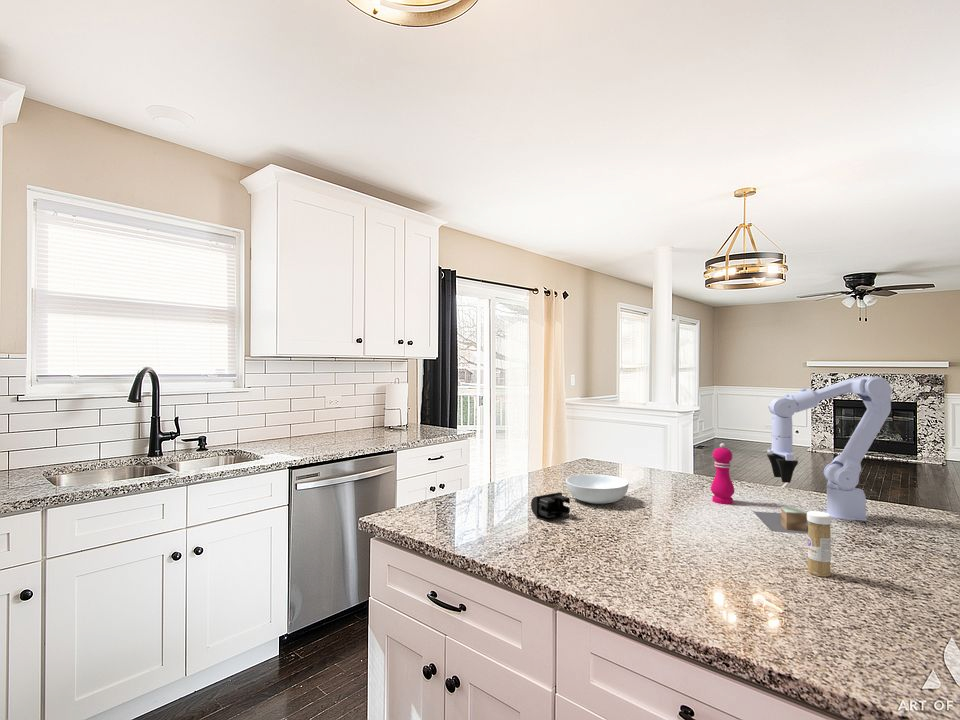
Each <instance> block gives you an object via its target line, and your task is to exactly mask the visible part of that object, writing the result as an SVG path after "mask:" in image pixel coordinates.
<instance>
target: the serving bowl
mask: <svg viewBox="0 0 960 720" xmlns="http://www.w3.org/2000/svg"><path fill="white" fill-rule="evenodd" d="M565 485H566V489H567V490H568V492H569V493H570V495H571V496H572V497H574V498H575V499H577V500H580V501H582V502H585V503H588V504H593V505H606V504H612V503H614V502H618V501H620V500H621V499H623V498H624V497H625V496H626V494H627V492H628V490H629V485H630V484H629V481H628V480H627V479H625V478H622V477H618V476H615V475H614V476H613V475H609V474H608V475H607V474H600V473H599V474H597V473H586V474H585V473H584V474H583V473H582V474H575V475H571V476H568V477H567V478H566V479H565Z"/></svg>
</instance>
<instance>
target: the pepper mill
mask: <svg viewBox="0 0 960 720" xmlns="http://www.w3.org/2000/svg"><path fill="white" fill-rule="evenodd" d="M712 458H713V459H714V460H715V461H714V467H715V475H714V478H713V480H712V481H711V485H710V491H711V493H712V494H713V495H712V498H711V499H712V503H714V504H720V505H732V504H733V503H734V499H733V497H732V496H733V495H734V494H735V487H734V484H733V482H732V480H731V477H730V468H731V464H732V463H731V461H732V460H733V452H732V451H731V450H730V449H728V448H726V444H725V443H724V442H721V443H720V444H719V447H717V448H715V449H714V450H713V452H712Z"/></svg>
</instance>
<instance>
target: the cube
mask: <svg viewBox="0 0 960 720" xmlns="http://www.w3.org/2000/svg"><path fill="white" fill-rule="evenodd" d="M780 513H781V525H782V526H783V527H784V528H785V529H786V530H798V531H807V513H808V512H806V511H805V510H803V509H802V508H799V507H788V506H781V507H780Z"/></svg>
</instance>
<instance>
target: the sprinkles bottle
mask: <svg viewBox="0 0 960 720" xmlns="http://www.w3.org/2000/svg"><path fill="white" fill-rule="evenodd" d="M806 513H807V520H808V534H807V567H806V570H807V572H808V573H809V574H811V575H813V576H817V577H822V578H823V577H830V576H831V575H832V572H831V561H832V559H831V557H832V555H831V554H832V552H831V551H832V545H831V544H832V538H831V526H832V525H831V524H832V518H831V515H830V514H828V513H825V512H822V511H818V510H810V511H809V510H808V512H806Z"/></svg>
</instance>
